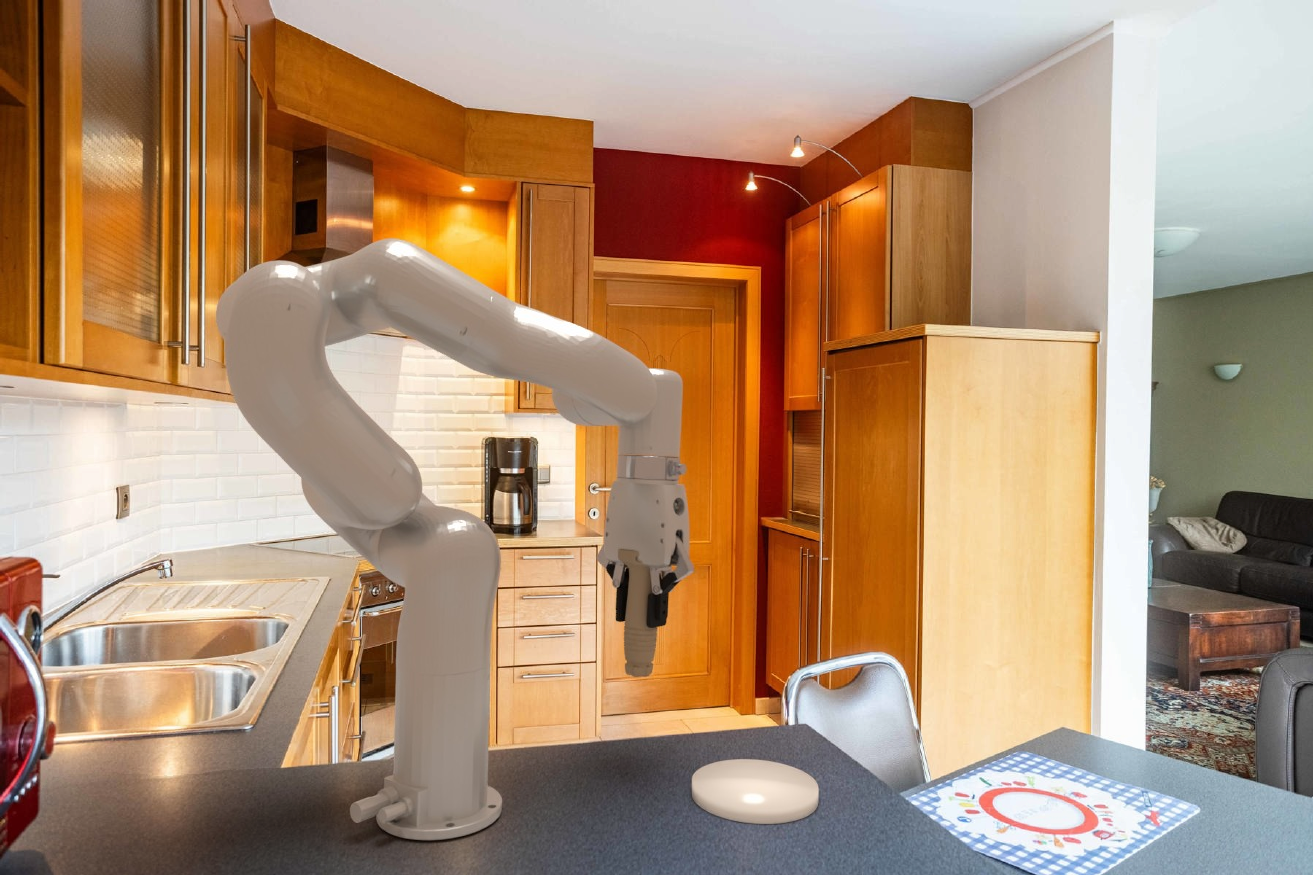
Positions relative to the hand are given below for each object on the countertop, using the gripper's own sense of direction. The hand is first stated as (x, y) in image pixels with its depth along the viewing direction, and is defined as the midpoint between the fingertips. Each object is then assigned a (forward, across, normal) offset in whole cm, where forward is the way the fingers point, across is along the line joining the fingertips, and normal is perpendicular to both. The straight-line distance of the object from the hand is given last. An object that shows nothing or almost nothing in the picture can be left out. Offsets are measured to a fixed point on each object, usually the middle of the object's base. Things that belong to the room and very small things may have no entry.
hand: (640, 621), depth 103 cm
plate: (+17, -15, -2) cm, 23 cm away
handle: (+7, 0, 0) cm, 7 cm away
